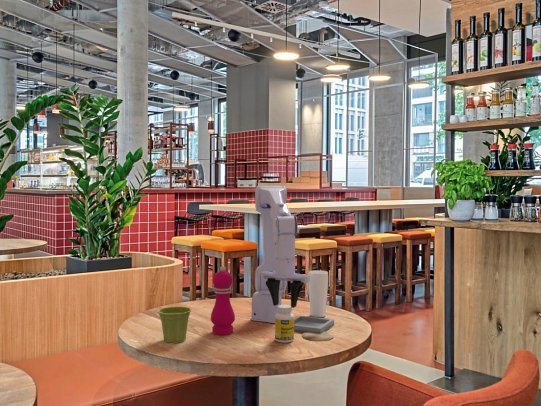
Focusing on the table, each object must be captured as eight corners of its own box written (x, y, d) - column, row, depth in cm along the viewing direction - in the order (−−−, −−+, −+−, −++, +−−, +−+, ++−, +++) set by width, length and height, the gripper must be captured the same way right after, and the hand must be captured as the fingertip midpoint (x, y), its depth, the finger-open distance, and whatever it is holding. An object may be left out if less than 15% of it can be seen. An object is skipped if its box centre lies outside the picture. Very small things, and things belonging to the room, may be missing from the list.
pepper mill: (224, 327, 164) (224, 263, 163) (239, 332, 158) (239, 266, 158) (205, 332, 158) (205, 265, 158) (221, 337, 153) (221, 268, 153)
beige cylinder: (327, 318, 175) (327, 273, 175) (306, 317, 176) (306, 273, 176) (328, 314, 182) (329, 270, 181) (309, 313, 183) (309, 269, 183)
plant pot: (152, 339, 151) (152, 309, 151) (182, 333, 157) (182, 304, 157) (166, 347, 144) (166, 315, 144) (197, 341, 149) (197, 310, 149)
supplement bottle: (279, 344, 147) (279, 309, 147) (271, 338, 152) (272, 305, 152) (297, 341, 149) (297, 307, 149) (288, 336, 154) (289, 303, 154)
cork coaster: (297, 338, 152) (297, 336, 152) (309, 330, 160) (309, 329, 160) (326, 342, 148) (327, 341, 148) (337, 334, 156) (337, 333, 156)
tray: (283, 329, 162) (283, 323, 162) (299, 320, 172) (299, 315, 172) (320, 334, 156) (320, 328, 156) (334, 325, 167) (334, 319, 167)
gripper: (255, 258, 149) (255, 306, 150) (303, 261, 143) (302, 311, 143) (267, 255, 156) (266, 301, 156) (312, 258, 149) (312, 306, 150)
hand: (284, 305), depth 150 cm, fingers open, 5 cm apart
